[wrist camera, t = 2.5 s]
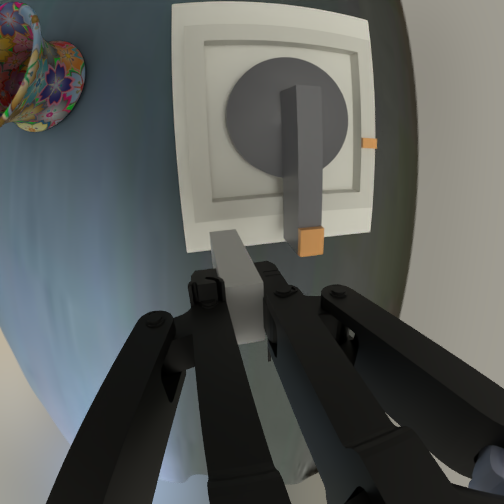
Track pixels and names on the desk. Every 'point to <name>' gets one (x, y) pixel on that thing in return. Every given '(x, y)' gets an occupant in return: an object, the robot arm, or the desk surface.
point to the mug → (35, 72)
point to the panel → (214, 126)
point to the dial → (290, 137)
